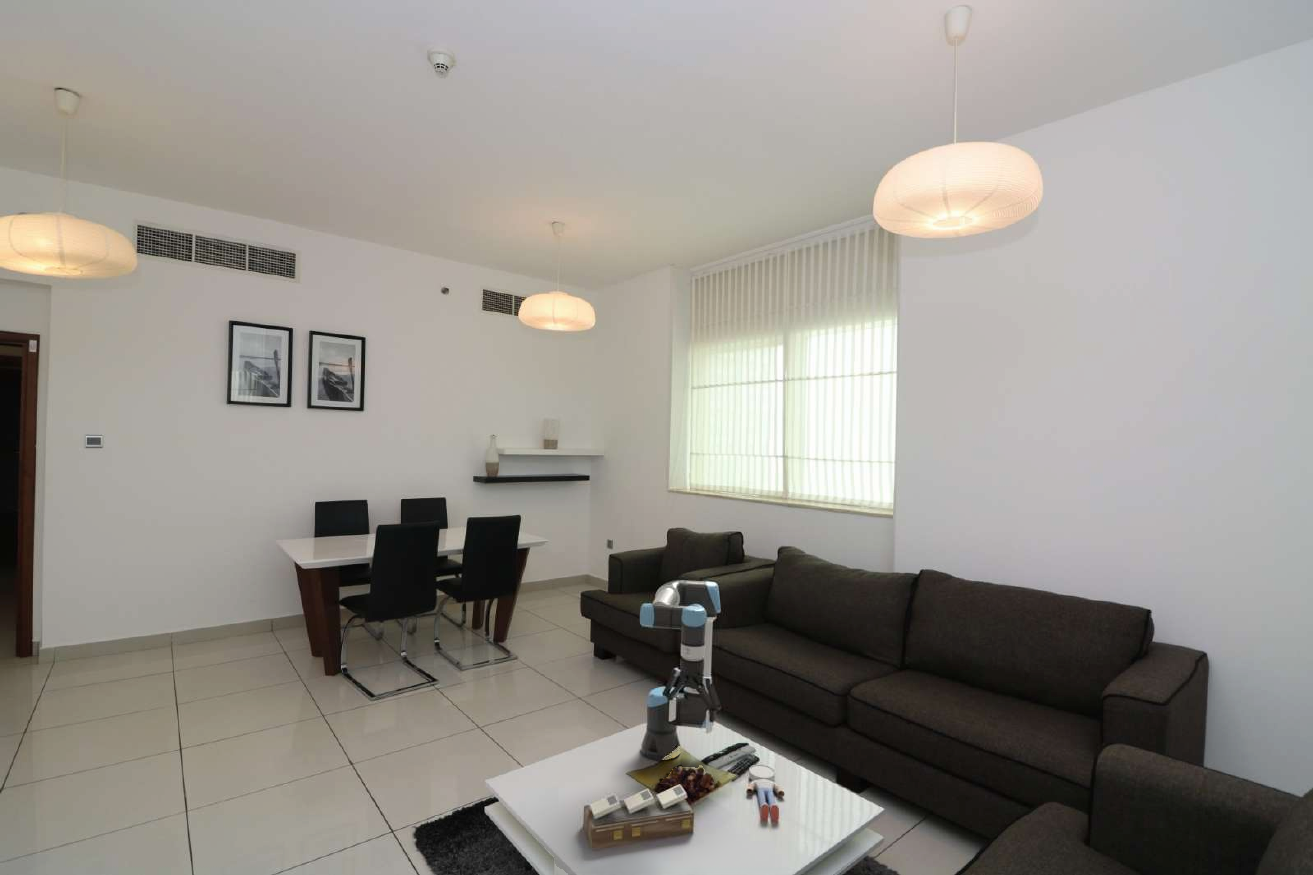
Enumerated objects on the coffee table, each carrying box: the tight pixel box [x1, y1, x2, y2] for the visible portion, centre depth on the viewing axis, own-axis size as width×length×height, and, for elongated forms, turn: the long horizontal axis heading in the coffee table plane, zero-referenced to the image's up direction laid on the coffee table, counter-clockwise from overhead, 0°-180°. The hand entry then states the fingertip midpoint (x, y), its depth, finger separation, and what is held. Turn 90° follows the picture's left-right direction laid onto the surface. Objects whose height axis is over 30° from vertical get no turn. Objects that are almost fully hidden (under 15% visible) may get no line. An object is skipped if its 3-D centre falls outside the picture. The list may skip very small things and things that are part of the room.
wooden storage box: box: [582, 794, 695, 851], centre depth 186 cm, size 12×31×7 cm, turn 108°
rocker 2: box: [656, 783, 688, 809], centre depth 189 cm, size 6×8×2 cm
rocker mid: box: [623, 788, 655, 814], centre depth 186 cm, size 6×8×1 cm
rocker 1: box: [589, 792, 621, 819], centre depth 183 cm, size 6×8×2 cm
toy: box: [746, 763, 785, 822], centre depth 208 cm, size 6×13×30 cm
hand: (690, 725), depth 194 cm, fingers open, 13 cm apart
